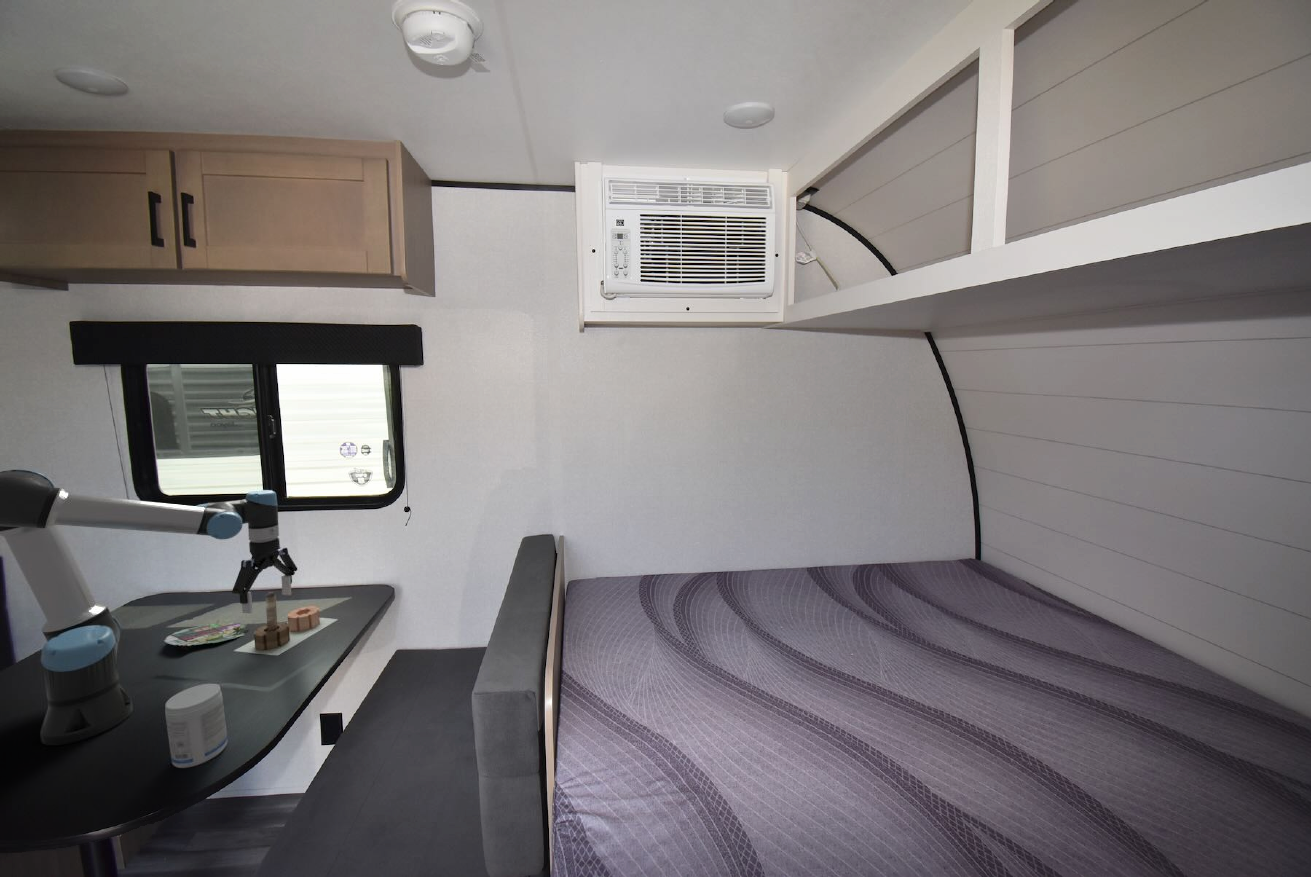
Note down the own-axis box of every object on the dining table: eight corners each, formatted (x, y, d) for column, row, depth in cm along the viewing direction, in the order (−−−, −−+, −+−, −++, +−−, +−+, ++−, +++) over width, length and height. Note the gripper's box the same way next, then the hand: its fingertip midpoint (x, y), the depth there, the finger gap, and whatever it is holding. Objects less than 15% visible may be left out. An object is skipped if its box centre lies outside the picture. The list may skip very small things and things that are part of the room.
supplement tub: (225, 733, 120) (219, 677, 118) (230, 753, 114) (224, 694, 112) (169, 755, 113) (163, 695, 111) (172, 777, 107) (165, 714, 105)
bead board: (277, 659, 152) (277, 655, 152) (233, 654, 155) (233, 650, 155) (338, 622, 176) (338, 619, 176) (299, 618, 178) (299, 615, 178)
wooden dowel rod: (273, 645, 158) (270, 594, 156) (266, 644, 158) (263, 593, 157) (280, 641, 160) (277, 590, 159) (273, 640, 161) (270, 590, 159)
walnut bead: (272, 651, 154) (271, 636, 154) (248, 649, 156) (246, 634, 155) (296, 637, 163) (295, 623, 162) (273, 635, 164) (272, 621, 164)
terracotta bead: (304, 632, 166) (303, 618, 166) (282, 630, 167) (281, 616, 167) (325, 620, 175) (324, 607, 174) (304, 618, 176) (303, 605, 176)
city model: (278, 629, 176) (278, 612, 176) (213, 657, 152) (213, 637, 152) (215, 626, 178) (215, 609, 178) (141, 653, 155) (142, 634, 155)
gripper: (235, 552, 143) (239, 622, 145) (308, 529, 167) (311, 588, 169) (213, 550, 144) (218, 619, 146) (288, 527, 168) (292, 587, 170)
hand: (268, 603), depth 158 cm, fingers open, 13 cm apart
